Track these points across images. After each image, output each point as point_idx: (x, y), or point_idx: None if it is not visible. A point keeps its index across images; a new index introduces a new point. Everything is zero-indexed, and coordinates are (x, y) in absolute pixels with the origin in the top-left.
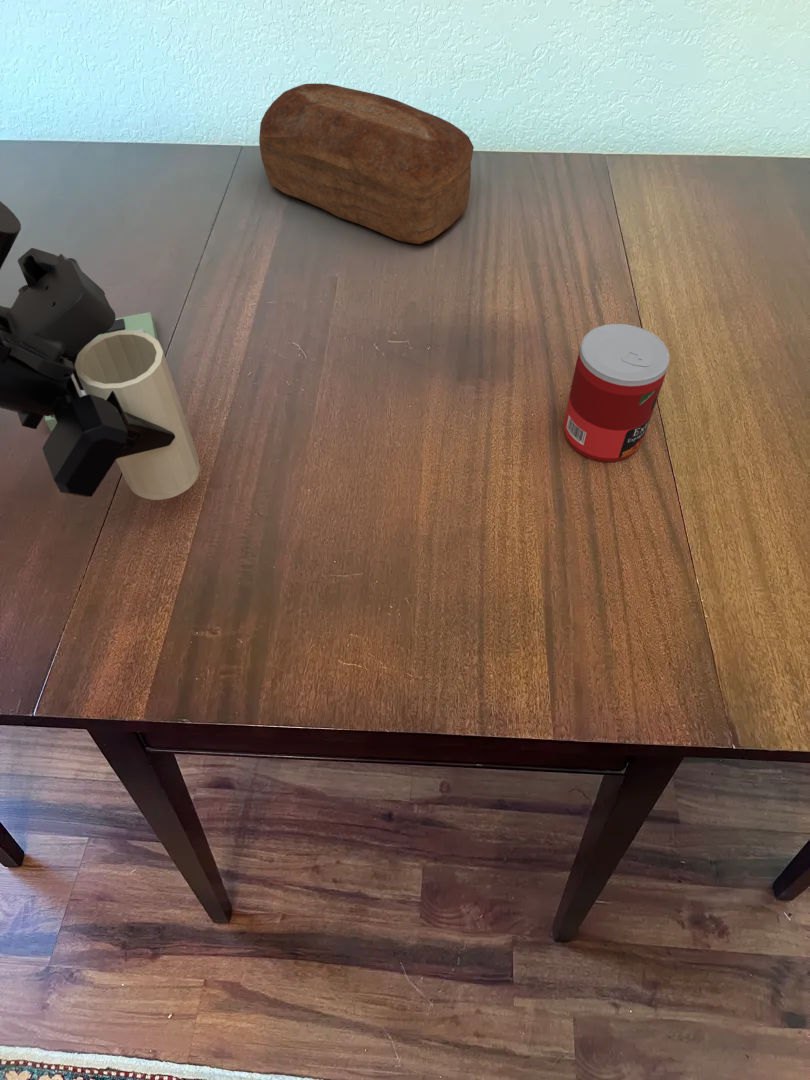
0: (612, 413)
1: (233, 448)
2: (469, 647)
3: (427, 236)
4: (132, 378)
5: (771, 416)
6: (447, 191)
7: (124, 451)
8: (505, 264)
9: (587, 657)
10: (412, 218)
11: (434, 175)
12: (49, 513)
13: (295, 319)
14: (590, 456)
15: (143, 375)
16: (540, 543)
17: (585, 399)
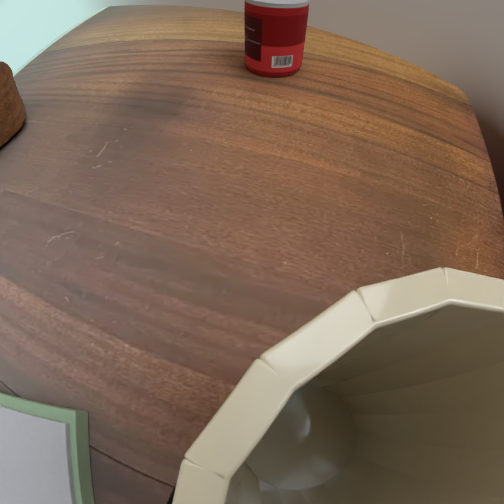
0: (304, 28)
1: (184, 345)
2: (454, 179)
3: (23, 116)
4: (233, 482)
5: None
6: (13, 82)
7: None
8: (77, 85)
9: (447, 129)
10: (8, 112)
11: (4, 73)
12: None
13: (22, 234)
14: (295, 70)
15: None
16: (369, 114)
17: (289, 30)
